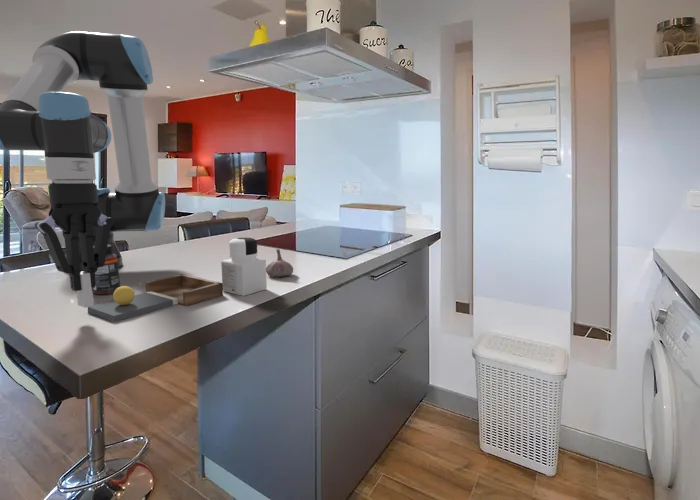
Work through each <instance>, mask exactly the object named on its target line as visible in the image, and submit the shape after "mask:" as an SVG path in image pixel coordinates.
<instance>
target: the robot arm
mask: <svg viewBox="0 0 700 500" xmlns="http://www.w3.org/2000/svg"><path fill="white" fill-rule="evenodd" d="M81 80H82V81H94V82H98V85H99V89H100V90H101V91H102V92H103V93H105V95H106V96H107V102H108V110H109V116H110V124H111V128H110V127H109V125H107V123H106V122H105V121H103V120H102V119H101V118H100V117H99V116H97V115H94V114H92V111H91V108H90V104H89V100H88V98H87V97H85V96H83V95H81V94H77V93H73V92H65V91H66V88H67V87H68V86H71V85H73V84H74V83H76V81H81ZM153 82H154V77H153V69H152V63H151V60H150V56H149V52H148V50H147V47H146V45H145V43H144V42H143V40H141V38H139V37H137V36H134V35H128V34H121V33H120V34H119V33H118V34H117V33H104V32H93V31H92V32H91V31H90V32H88V31H84V30H83V31H82V30H81V31H80V30H78V31H77V30H75V31H69V32H64V33H61V34H58V35H56V36H53V37H52V38H49V39H48V40H46V41H44V42H43V43H42V44H41V45H39V47H37V49H36V50H35V51H34V53H33V55H32V63H31V65H30V66H29V68H28V69H27V70H26V72H25V73H24V74H23V76H22V77H21V78H20V79H19V81H17V83H16V84H15V85H14V87H13V88H12V89H11V90H10V92H9V93H8V94H7V96H6V97H5V98H4V100H2V102H1V104H0V150H1V151H5V152H6V151H43V152H44V159H45V160H44V161H45V171H46V179H47V180H48V181H51V183H49V185H47V187H48V195H49V196H48V197H49V203H50V210H49V211H48V216H47V217H46V218H45V219H43V220H41V221H37V222H35V224H34V227H35V228H36V229H37V230H38V231H39V232H40V234H42V235H43V239H44V240H45V244H46V246H47V249H48V251H49V253H50V256H51V258H52V260H53V262H54V265H55V267H56V269H57V271H58V272H60V273H61V272H62V273H64V274H65V273H66V274H68V275H69V279H70V281H69V282H70V288H71V290H72V291H75V292H76V298H77V306H79V307H82V308H85V309H86V308H88V307H90V306H93V305H94V300H93V292H92V288H94V287H95V285H96V282H95V272H96V271H97V268H99V267H103V266H104V264H105V258H106V252H107V245H111V246H112V252H113V253H114V254H116V255H117V261H118V268H120V267H121V266H122V265H123V264H124V263H123V257H122V255H121V252H120V251H119V250H120V249H119V248H118V245H117V243H116V242H115V238H114V232H119V233H121V232H149V231H150V232H151V231H159V230H160V229H161V228H162V227H163V224H164V220H165V212H166V194H165V193H164V192H161V191H159V186H158V185H157V184H156V183H155V182H154V181H153V179H152V169H151V163H150V154H149V152H150V151H149V143H148V134H147V127H146V126H147V125H146V118H145V108H144V98H143V97H144V95H145V94H147V92H148V85H151V84H153ZM111 129H112V130H111ZM111 131H112V132H111ZM112 137H113V143H114V144H113V145H114V150H115V151H114V152H115V157H116V158H115V159H116V165H117V172H118V180H119V183H117V185H116V186H115V187H114V192H111V190H110V189H109V187H104V188H102V187H101V188H98V185H97V184H96V183H94V182H93V181H95V180H96V179H97V176H96V164H95V155H94V154H95V153H98V152H103V151H104V150H106V149H107V148H108V147H109V145H110V144H111V141H112ZM55 225H56V226H57V227H58V228H59V229H60V230H61V231H62V236H63V239H64V246H65V252H64V250H63V247H62V243H61V242H60V240H59V237H58V235H57V233H56V231H55V229H56V226H55ZM93 246H94V249H93Z"/></svg>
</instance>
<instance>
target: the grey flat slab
mask: <svg viewBox="0 0 700 500" xmlns="http://www.w3.org/2000/svg"><path fill="white" fill-rule="evenodd" d="M171 305H172V306H174V305H179V304H178V298H174V297H170V296H167V295H163V294H159V293H156V292H152V291H150V292H146V291H145V292H142V293H138V294H135V297H134V300H133V301H132V302H131V303H130V304H128V305H119V304H117V303H116V302H115V301H114V299H113V300H109V301H105V302H100V303H97V304H93V306H90V307H87V312H88V313H89V314H91V315H94V316H97V317H100V318H102V317H103V319H105V318H106V320H109V321H111V322H113V321H114V322H118V321H122V319H123V320H126V319H129V317H130V318H133V317H136V316H139V315H143V314H146V313H150V312H151V313H152V312H154V311H157V310H160V309H164V308H167V307H171ZM114 322H113V323H114Z"/></svg>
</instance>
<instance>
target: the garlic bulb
mask: <svg viewBox="0 0 700 500" xmlns="http://www.w3.org/2000/svg"><path fill="white" fill-rule="evenodd" d="M275 251H276V254H277V259H276V260H273V261H271V262H270V263H268V264H267V265H266V275H268V277H269V278H272V279H273V278H277V277H280V278H281V277H285V276H287V277H289V276H292V274H293V273H294V267H293V265H292V264H291V263H290V262H288V261H286V260H285V259H283V257H282V254H281V250H280V248H276V250H275Z"/></svg>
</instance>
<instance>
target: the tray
mask: <svg viewBox="0 0 700 500" xmlns="http://www.w3.org/2000/svg"><path fill="white" fill-rule="evenodd" d="M150 291H152V292H156V293H159V294H163V295H167V296H170V297H174V298H178V304H177V305H182V306H185V307H188V306H192V305H195V304H198V303H201V302H205V301H208V300H212V299H215V298H218V297H221V296H222V297H223V296H224V291H223V285H222V282H220V281H214V280H210V279H206V278H201V277H196V276H192V275H189V274H188V275H187V274H183V273H181V274H177V275H173V276H168V277H165V278H160V279H155V280H151V281H146V282H145V293H146V292H150Z"/></svg>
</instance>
